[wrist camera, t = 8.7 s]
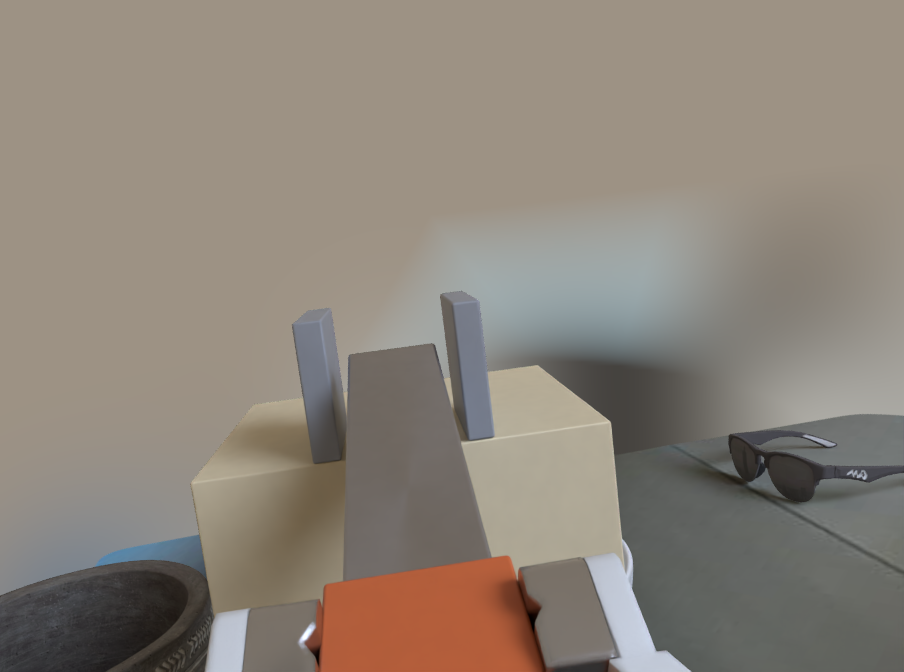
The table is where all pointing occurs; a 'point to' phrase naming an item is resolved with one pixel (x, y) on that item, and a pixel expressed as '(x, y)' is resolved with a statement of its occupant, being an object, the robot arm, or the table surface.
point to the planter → (109, 621)
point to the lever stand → (324, 469)
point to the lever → (416, 537)
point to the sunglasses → (794, 465)
